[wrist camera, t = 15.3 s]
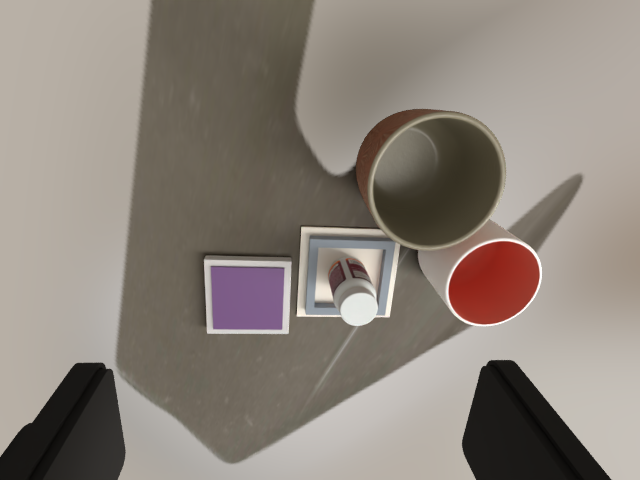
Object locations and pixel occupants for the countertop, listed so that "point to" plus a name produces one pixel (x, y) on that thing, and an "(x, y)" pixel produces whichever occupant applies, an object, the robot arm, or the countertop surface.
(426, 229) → the planter
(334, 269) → the pill bottle
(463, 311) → the cup
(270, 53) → the countertop surface
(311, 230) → the square tray
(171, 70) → the countertop surface
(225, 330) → the ink pad
